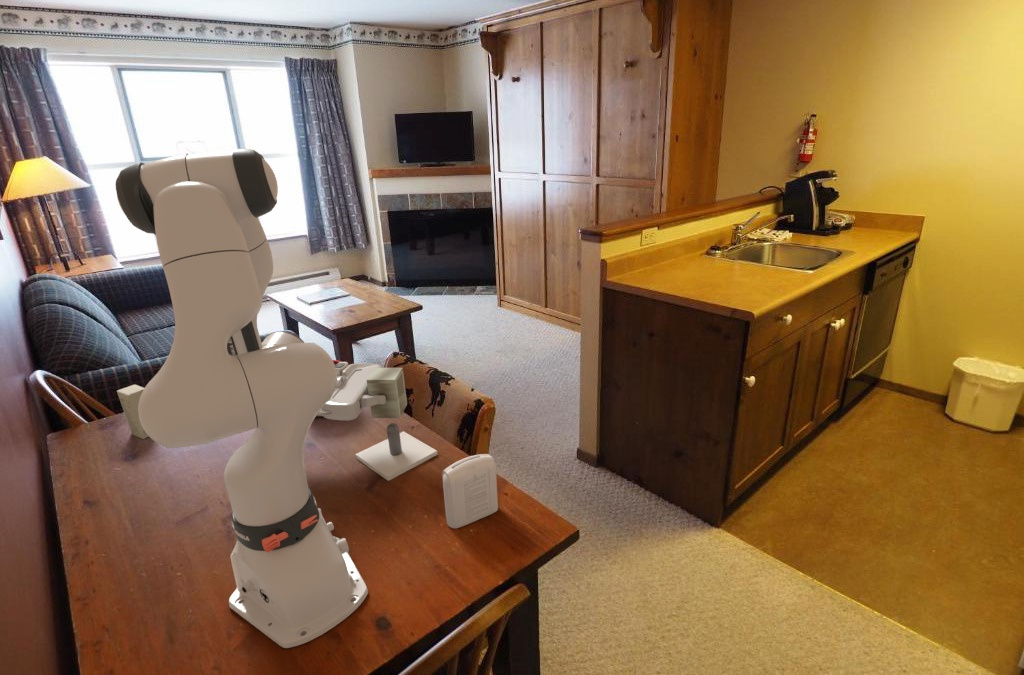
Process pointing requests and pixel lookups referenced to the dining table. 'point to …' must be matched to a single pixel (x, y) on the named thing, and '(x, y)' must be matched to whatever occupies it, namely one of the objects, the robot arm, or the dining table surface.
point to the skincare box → (132, 408)
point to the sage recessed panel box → (388, 392)
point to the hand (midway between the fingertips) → (391, 390)
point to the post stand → (395, 453)
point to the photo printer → (470, 490)
